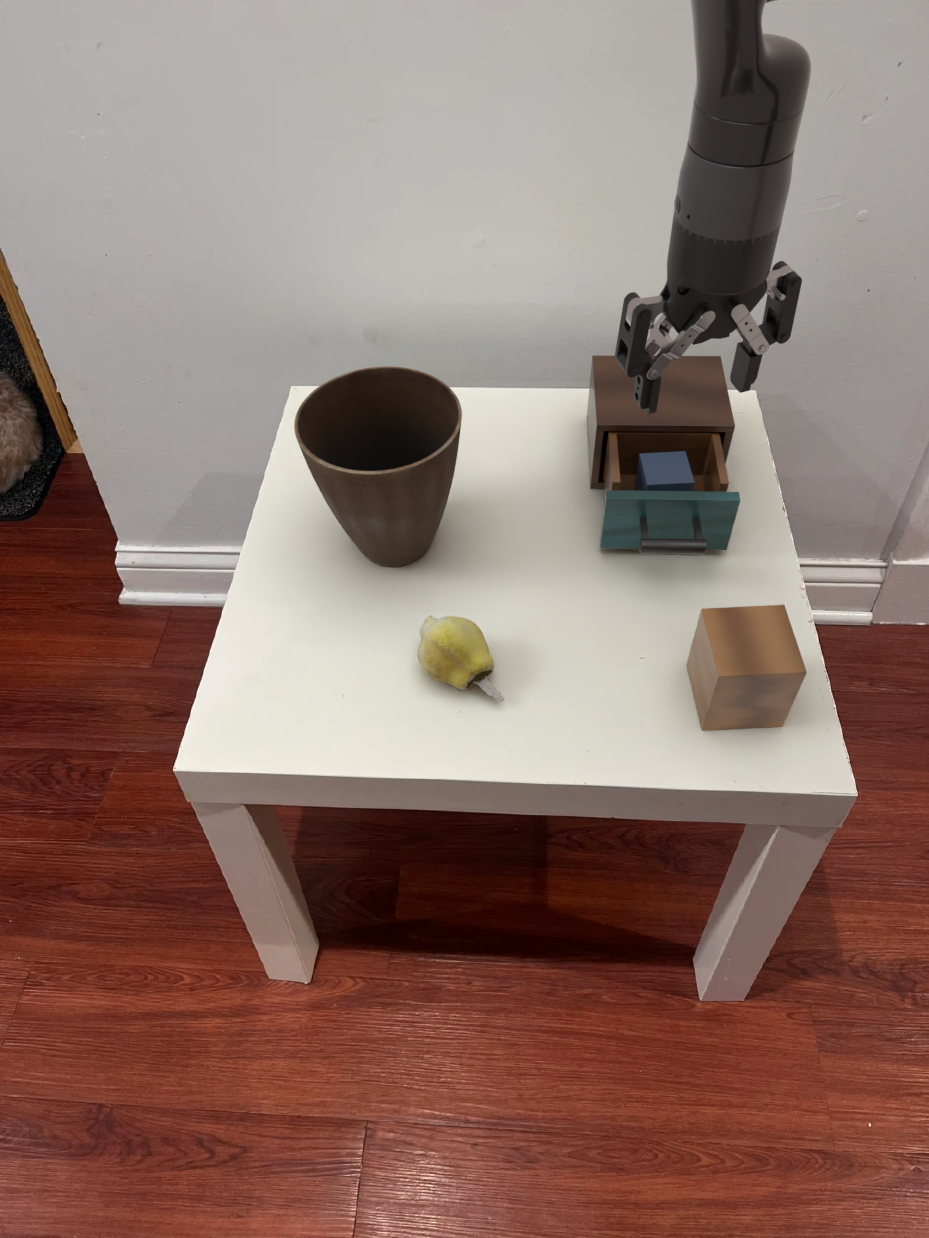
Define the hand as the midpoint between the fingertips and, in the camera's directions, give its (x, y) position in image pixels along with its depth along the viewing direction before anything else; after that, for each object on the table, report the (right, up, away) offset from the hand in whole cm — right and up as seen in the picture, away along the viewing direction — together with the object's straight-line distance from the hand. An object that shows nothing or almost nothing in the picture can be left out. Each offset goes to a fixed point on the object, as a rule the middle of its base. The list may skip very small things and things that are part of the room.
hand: (693, 397), depth 78 cm
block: (+1, -7, +16) cm, 18 cm away
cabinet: (+1, 0, +24) cm, 24 cm away
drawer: (+1, -9, +15) cm, 18 cm away
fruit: (-19, -24, +6) cm, 31 cm away
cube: (+4, -25, +4) cm, 26 cm away
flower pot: (-26, -11, +17) cm, 33 cm away
